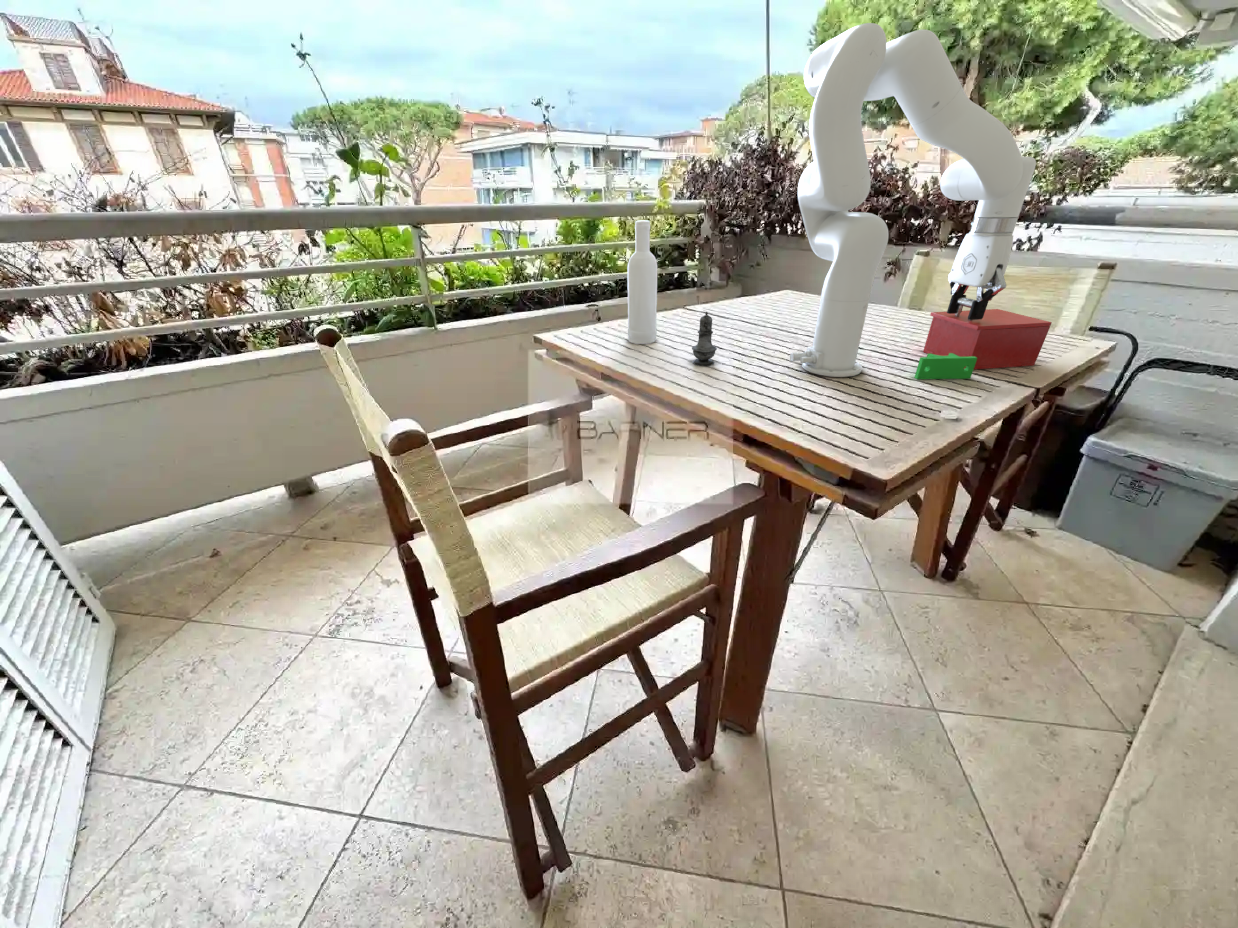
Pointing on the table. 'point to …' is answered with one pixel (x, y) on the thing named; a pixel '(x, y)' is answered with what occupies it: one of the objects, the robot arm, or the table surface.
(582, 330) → the table surface
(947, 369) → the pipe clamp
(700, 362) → the salt shaker
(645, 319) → the bottle
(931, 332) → the red hinged box
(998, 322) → the red box lid
